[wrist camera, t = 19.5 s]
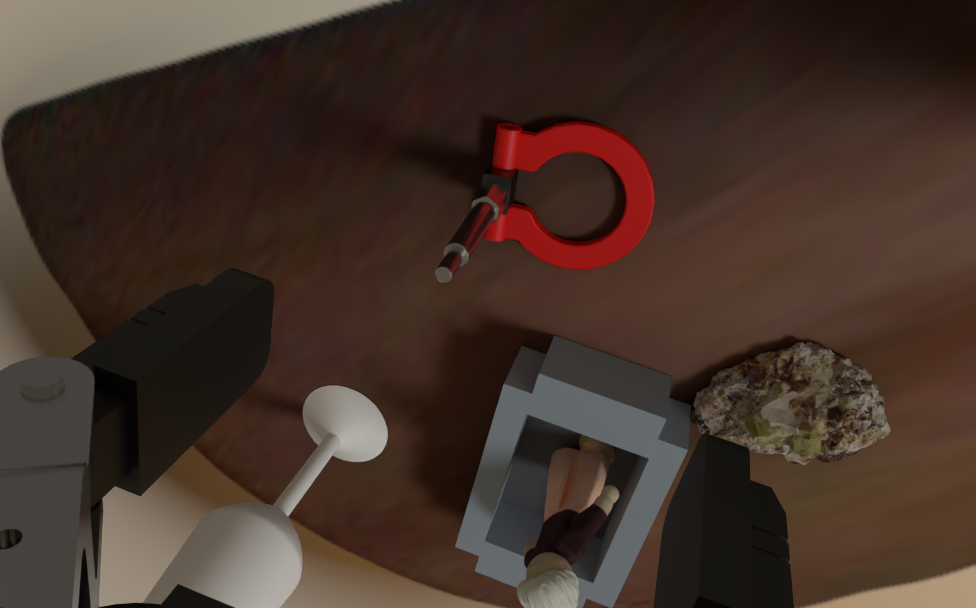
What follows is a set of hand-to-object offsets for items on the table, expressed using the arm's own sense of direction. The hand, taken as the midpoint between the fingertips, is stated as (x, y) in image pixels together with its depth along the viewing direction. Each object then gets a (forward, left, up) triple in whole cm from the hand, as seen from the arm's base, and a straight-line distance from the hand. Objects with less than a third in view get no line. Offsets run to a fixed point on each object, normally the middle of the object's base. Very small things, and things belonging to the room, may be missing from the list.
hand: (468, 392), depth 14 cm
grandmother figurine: (-4, +24, -29) cm, 38 cm away
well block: (-4, +25, -30) cm, 39 cm away
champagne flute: (+12, +29, -30) cm, 43 cm away
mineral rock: (-14, +15, -30) cm, 37 cm away
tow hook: (+2, +7, -30) cm, 31 cm away
